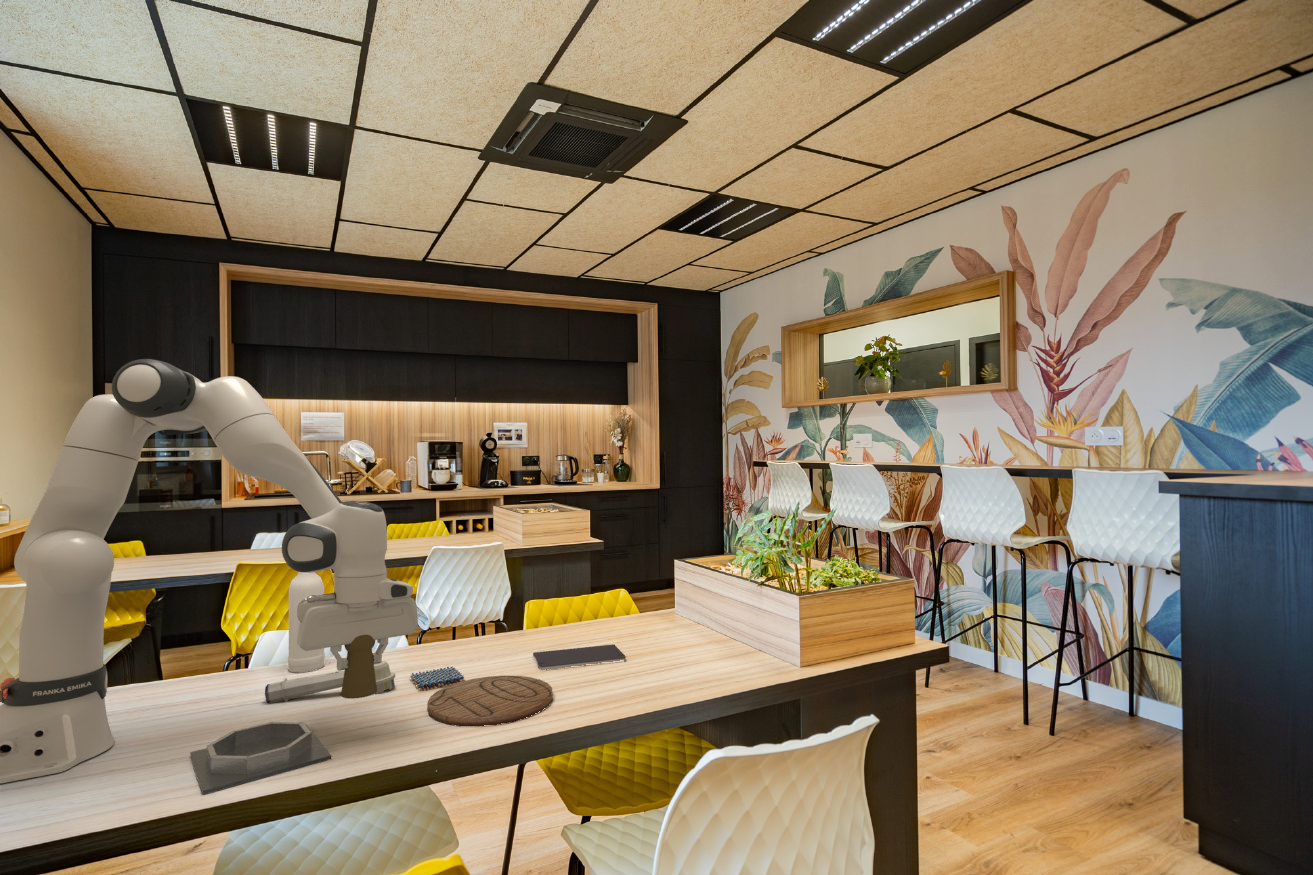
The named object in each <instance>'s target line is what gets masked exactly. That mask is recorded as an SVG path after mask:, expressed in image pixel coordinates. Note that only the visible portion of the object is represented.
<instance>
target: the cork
mask: <svg viewBox="0 0 1313 875" xmlns="http://www.w3.org/2000/svg"><path fill="white" fill-rule="evenodd" d="M375 644H376V640H374V639H373V637H371V636H370V635H361V636H358V637H356V638H355V639H354V640H353V641H352V643H351V644H347V645H343V646H344V649H345V650H346V657H345V658H346V659H348V664H347V666H348V669H346V670H345V671H344V670H343V671H344V678H343V684H342V687H341V691H340V697H341V698H343V699H351V700H352V699H353V700H354V699H355V700H356V699H362V698H367V697H369V696H373V695H375V694H376V692H377V686H376V678H375V670H374V663H373V654H372V653H373V648H374V646H375Z"/></svg>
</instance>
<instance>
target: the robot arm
mask: <svg viewBox="0 0 1313 875" xmlns="http://www.w3.org/2000/svg"><path fill="white" fill-rule="evenodd" d="M111 393H112V394H109V393H108V394H98V395H95V396H94V397H91V398H89V399H88V400H86V402H85V403H84V405H83V406H82V408H81V409H80V410H79V411H78V413H77V415H76V417H75V419H74V420H73V423H72V424H71V426H70V428H69V430H68V433H67V434H66V437H65V440H64V441H63V444H62V447H61V449H60V452H59V455H58V458H57V460H56V463H55V466H54V469H53V471H52V474H51V476H50V479H49V482H48V484H47V487H46V489H45V492H44V493H43V496H42V498H41V500H40V501H39V503H38V505H37V507H36V509H35V511H34V514H32V516H31V519H30V521H29V523H28V525H27V528H26V530H25V532H24V534H23V536H22V539H21V541H20V542H19V543H20V544H19V545H18V548H17V550H16V552H15V555H14V561H13V564H14V570H15V572H16V574H17V575H18V577H19V578H20V579H21V580H22V581H24V582H25V585H26V587H25V588H26V590H25V591H26V592H25V599H24V607H23V608H24V609H23V614H22V615H23V616H22V621H21V626H20V629H19V633H18V634H19V635H18V637H19V639H18V645H19V646H18V677H17V678H16V679H15V677H7V678H5V679H3V681H2V682H1V684H0V691H1V692H0V693H1V694H0V696H1V698H0V699H1V705H0V784H6V783H10V782H15V781H20V780H26V779H27V780H28V779H31V778H37V777H42V776H48V775H53V774H59V773H62V772H65V771H67V770H69V769H71V768H73V767H74V766H76V765H78V764H80V763H81V762H84V761H86V760H90V759H92V758H93V757H96V756H99V755H100V754H102V753H104V752H105V751H107V750H109V749H110V748H111V747H112V746H114V744H115V739H114V737H113V734H112V730H111V728H110V724H109V719H108V715H107V709H106V708H107V707H106V701H105V697H106V696H107V692H108V671H107V665H106V664H105V663H104V652H105V651H104V646H105V645H104V644H105V643H104V642H105V640H104V637H105V630H104V628H105V617H106V611H107V605H108V601H109V595H110V590H111V582H112V573H113V571H114V567H115V556H114V553H113V550H112V548H111V546H110V545H109V543H108V542H107V541H106V540H104V539H105V537H106V535H107V532H108V531H109V528H110V527H111V525H112V523H113V521H114V519H115V518H116V515H118V512H119V511H120V509H121V508H122V507H123V505H124V503H125V501H126V499H127V495H128V493H129V490H130V487H131V483H132V481H133V478H134V475H135V472H136V469H137V466H138V464H139V461H140V457H141V454H142V451H143V448H144V446H145V443H146V441H147V439H148V438H149V437H150V436H151V435H153V434H154V433H156V432H157V433H158V434H160V435H161V436H172V435H182V434H183V435H185V434H186V435H188V434H197V433H201V432H205V431H207V432H208V433H209V435H210V437H211V439H212V441H213V443H214V444H215V445H216V447H217V449H218V450H219V453H220V455H221V456H222V457H223V458H224V459H225V461H227V463H228V464H229V465H230V466H231V467H233V469H235V470H236V471H237V472H239V473H241V474H244V475H246V476H249V477H253V478H256V479H260V480H264V481H266V482H270V483H272V484H275V485H278V486H279V487H282V488H283V489H285V490H287V491H288V492H289V493H291V494H292V495H293V496H294V497H295V499H296V500H297V501H298V502H299V504H300V505H301V507H302V508H303V509H304V510H305V512H306V513H307V515H308V516H309V518H310V519H308V520H304V521H301V522H298V523H295V524H293V525H292V526H291V527H289V528H288V530H287V531H286V532H285V534H284V536H283V539H282V542H281V555H282V558H283V560H284V562H285V563H286V564H287V566H288V567H289V568H291V569H292V570H293V571H296V572H305V573H313V572H315V573H317V572H322V571H326V570H327V571H328V570H333V573H334V576H333V577H334V579H333V581H334V582H333V583H334V586H333V592H330V593H324V594H323V595H317V596H316V595H312V596H308V597H307V598H306V599H304V600H302V601H301V602H300V603H299V605H298V608H297V617H298V620H299V621H300V623H299V629H298V638H297V643H298V645H299V647H300V648H302V649H303V650H305V651H309V650H316V649H322V648H324V649H326V648H329V649H330V650H329V651H330V652H331V654H332V655H333V656H334V659H335V660H336V670H337V672H338V671H344V670H346V669H348V666H347V664H348V659H346V658H347V657H342V656H341V654H340V653H339V652H342V649H343V648H342V646H344V645H347V644H351V643H352V641H353V640H354V639H355V638H356V637H358V636H361V635H370V636H371V637H373V639H374V640H375V641H376V643H378V644H379V645H378V646H377V648H376V650H375V652H372V654H373V663H374V664H379V663H381V662H382V660H383V659H382V658H383V654H384V652H385V650H386V648H387V646H388V645H389V639H390V638H397V637H403V636H409V635H414V634H415V632H416V631H417V630H418V627H419V626H418V624H419V617H418V610H417V609H418V607H417V603H416V601H415V599H414V598H413V597H411V596H413V593H414V588H413V586H412V585H411V584H409V583H407V582H404V581H401V580H397V579H395V578H388V576H387V574H388V573H387V572H388V570H387V566H386V562H385V560H386V554H387V551H388V529H387V527H388V526H387V520H386V515H385V512H384V510H383V508H382V507H381V506H380V505H377V504H376V503H372V502H367V501H358V500H347V501H342V500H341V499H340V497H339V496H338V494H336V492H335V491H334V490H333V488H332V486H330V484H329V483H328V481H327V480H326V479H325V478H324V476H323V475H322V473H321V472H320V471H319V469H318V468H317V467H316V466H315V465H314V464H313V462H311V460H310V459H309V458H308V457H307V456H306V454H305V453H303V451H302V450H300V448H299V447H298V445H296V444H295V442H294V441H293V439H292V438H291V437H290V436H289V434H288V433H287V432H286V430H285V429H284V427H283V426H282V424H281V423H280V422H279V420H278V419H277V417H276V415H275V413H274V412H273V411H272V408H271V407H270V406H269V405H268V403H267V402H266V400H264V398H263V397H262V395H261V394H260V393H259V392H258V391H257V390H256V389H255V387H253V386H252V384H250V383H249V382H248V381H247V380H245V379H244V378H241V377H239V376H234V375H233V376H232V375H231V376H230V375H229V376H221V377H217V378H215V379H213V380H210V381H208V382H202V380H200V379H199V378H197V377H196V376H194V375H193V374H191V373H189V372H187V371H184V370H182V369H180V368H178V367H176V366H175V365H172V364H171V363H168V362H166V361H165V362H164V361H162V360H158V359H153V358H141V359H136V360H131V361H129V362H127V363H126V364H124V365H123V366H121V367H120V368H119V369H118V370H117V371H116V373H115V375H114V376H113V378H112V382H111ZM305 601H307V602H306V603H303V602H305Z"/></svg>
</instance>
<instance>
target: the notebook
mask: <svg viewBox="0 0 1313 875" xmlns="http://www.w3.org/2000/svg"><path fill="white" fill-rule="evenodd" d="M532 655H533V656H534V657H533V658H534V659H536V660H535V662H536V661H537V662H536V664H537V668H540V669H541V670H545V669H555V670H559V669H558V668H564V669H566V668H565V667H571V666H582V665H586V664H598V663H602V662H613V661H620V660H625V661H626V658H627V656H626V655H625V654H624V653H623V651H621V649H619V648H618V647H617V646H616V644H603V645H595V646H586V647H575V648H567V649H566V648H565V649H554V650H546V651H544V650H543V651H535V652H533V653H532ZM582 667H583V666H582ZM540 669H539V670H540ZM541 670H540V671H541Z"/></svg>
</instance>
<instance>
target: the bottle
mask: <svg viewBox="0 0 1313 875" xmlns="http://www.w3.org/2000/svg"><path fill="white" fill-rule="evenodd" d="M297 572H298V571H297ZM323 594H325V585H324V582H323V579H322V577H321V576H320V575H318V574H317V572H313V573H305V572H298V573H297V575H295V577H293V578H292V580H291V582H290V584H289V587H288V657H287V664H288V671H289V672H290V673H295V674H296V673H297V674H300V673H299V672H302V673H308V672H307V671H309V672H314V671H317V670H319V669H321V668H323V667H324V666H325V658H326V654H325V648H322V649H316V650H309V651H305V650H303V649H302V648H300V647H299V645H298V643H297V638H298V629H299V623H300V621H299V620H298V617H297V608H298V605H299V603H300V602H301V601H302V600H304V599H306V598H307V597H308V596H312V595H316V596H317V595H323ZM306 602H307V601H305V602H303V603H306ZM316 669H317V670H316ZM313 670H314V671H313Z"/></svg>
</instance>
